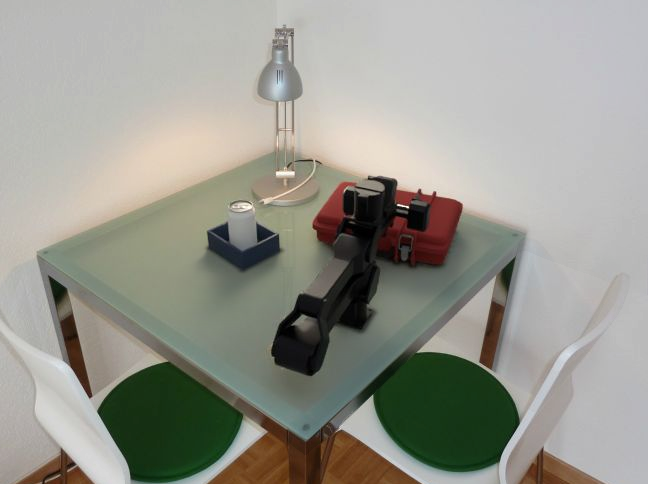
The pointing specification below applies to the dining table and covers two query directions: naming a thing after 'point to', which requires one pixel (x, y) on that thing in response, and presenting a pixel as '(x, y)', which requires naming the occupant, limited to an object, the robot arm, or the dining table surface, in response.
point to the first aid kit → (400, 227)
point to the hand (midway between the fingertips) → (398, 191)
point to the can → (242, 224)
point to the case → (249, 255)
